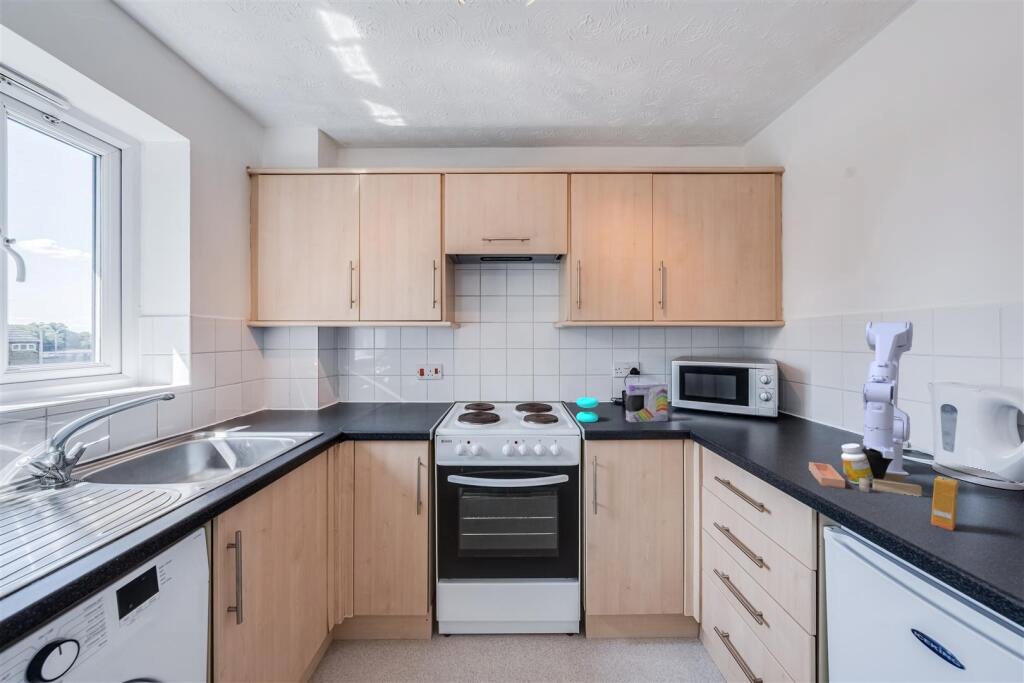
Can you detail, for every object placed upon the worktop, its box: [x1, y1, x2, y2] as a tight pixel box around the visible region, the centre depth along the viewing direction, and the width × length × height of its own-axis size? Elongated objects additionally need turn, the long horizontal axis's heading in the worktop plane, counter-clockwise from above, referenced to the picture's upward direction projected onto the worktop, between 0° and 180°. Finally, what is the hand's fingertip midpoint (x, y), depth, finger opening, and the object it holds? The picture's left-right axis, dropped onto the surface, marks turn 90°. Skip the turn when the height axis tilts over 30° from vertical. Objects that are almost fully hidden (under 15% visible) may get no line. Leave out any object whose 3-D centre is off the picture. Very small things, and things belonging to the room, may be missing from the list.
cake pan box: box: [624, 382, 669, 423], centre depth 182 cm, size 19×5×18 cm, turn 92°
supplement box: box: [930, 475, 959, 531], centre depth 83 cm, size 3×3×10 cm
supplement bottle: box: [840, 443, 874, 485], centre depth 107 cm, size 5×5×10 cm
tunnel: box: [842, 463, 923, 497], centre depth 106 cm, size 15×12×3 cm
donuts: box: [576, 397, 599, 423], centre depth 183 cm, size 10×10×10 cm
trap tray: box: [808, 461, 846, 490], centre depth 111 cm, size 14×5×2 cm, turn 154°
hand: (877, 478), depth 106 cm, fingers closed, pressing on supplement bottle
